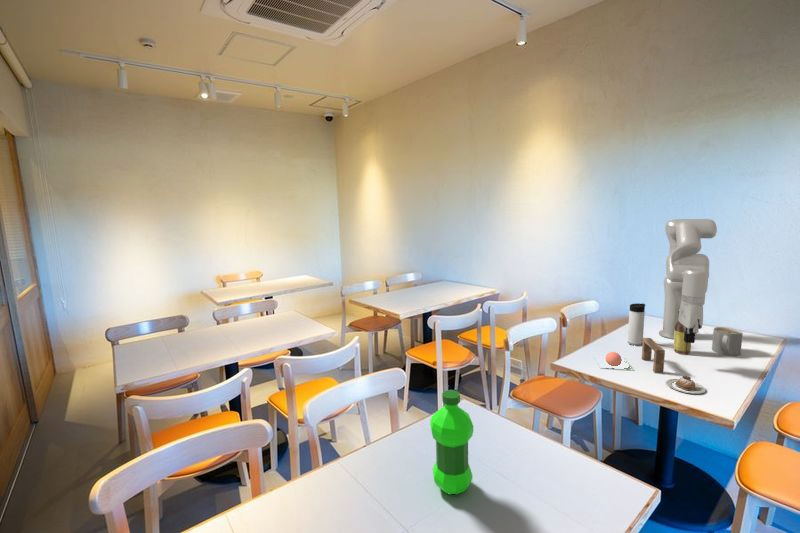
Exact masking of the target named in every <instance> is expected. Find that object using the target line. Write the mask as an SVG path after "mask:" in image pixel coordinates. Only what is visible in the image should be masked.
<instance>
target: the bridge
mask: <svg viewBox="0 0 800 533" xmlns="http://www.w3.org/2000/svg"><path fill="white" fill-rule="evenodd" d="M641 346H642V348H641V349H642V351H641V360H642V361H643V360H644V361H646V362H651V361H652V355H653V367H652V371H653V373H654V374H664V370H665V355H666V354H665V353H666V350H665V349H664V348H663V347H661V346H660V345H659V344H658V343H657V342H656V341H654V340H653V338H651V337H643V345H641ZM652 351H653V354H652ZM644 361H643V362H644Z"/></svg>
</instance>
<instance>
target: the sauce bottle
mask: <svg viewBox="0 0 800 533" xmlns="http://www.w3.org/2000/svg"><path fill="white" fill-rule="evenodd" d="M678 318H679V310H678ZM673 348H674V349H673V351H674V352H675V353H677V354H679V355H690V354H691V349H692V343H686V342H685V341H684V325H682V324H681V323H680V322H679V321H677V323H676V325H675V329H674V339H673Z"/></svg>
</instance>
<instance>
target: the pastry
mask: <svg viewBox="0 0 800 533" xmlns="http://www.w3.org/2000/svg"><path fill="white" fill-rule="evenodd" d="M674 382H676V383H674ZM672 383H673V384H674V385H675V386H676V387H677V386H678V388H679V389H678V388H676V387H674V386H673V384H672ZM665 385H667V386H668V387H669V388H670V389H672V388H673V390H676V391H679V392H681V393H686V394H694V395H698V394H704V393H706V391H707V389H706V388H705V386H703V385H701V384H699V383H697V382H695V380H692V377H691V376H689V375H682V376H681V377H680V378H670V379H667V380H666V381H665ZM681 388H682V390H681ZM697 389H698V391H696V390H697ZM693 391H694V392H693Z"/></svg>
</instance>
